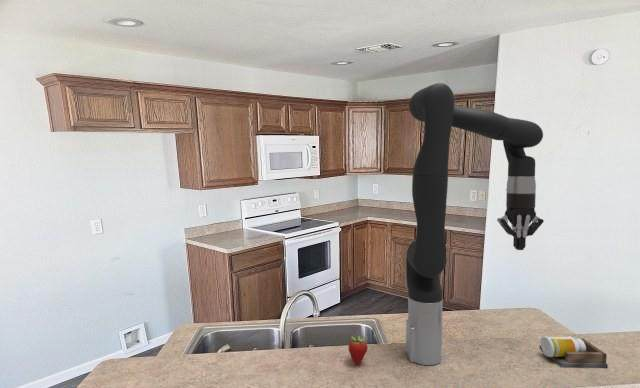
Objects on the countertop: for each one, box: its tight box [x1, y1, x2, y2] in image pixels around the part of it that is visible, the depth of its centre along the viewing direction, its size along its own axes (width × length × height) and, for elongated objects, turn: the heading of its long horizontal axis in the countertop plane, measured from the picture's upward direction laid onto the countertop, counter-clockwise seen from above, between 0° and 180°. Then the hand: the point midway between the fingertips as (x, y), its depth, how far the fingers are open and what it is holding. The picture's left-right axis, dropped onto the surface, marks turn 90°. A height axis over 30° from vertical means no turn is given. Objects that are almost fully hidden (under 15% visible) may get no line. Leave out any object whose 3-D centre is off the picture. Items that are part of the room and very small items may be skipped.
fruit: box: [348, 335, 368, 365], centre depth 97 cm, size 5×5×8 cm
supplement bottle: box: [540, 335, 586, 358], centre depth 98 cm, size 5×5×10 cm
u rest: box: [539, 337, 609, 369], centre depth 99 cm, size 12×10×4 cm
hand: (519, 249), depth 106 cm, fingers closed
